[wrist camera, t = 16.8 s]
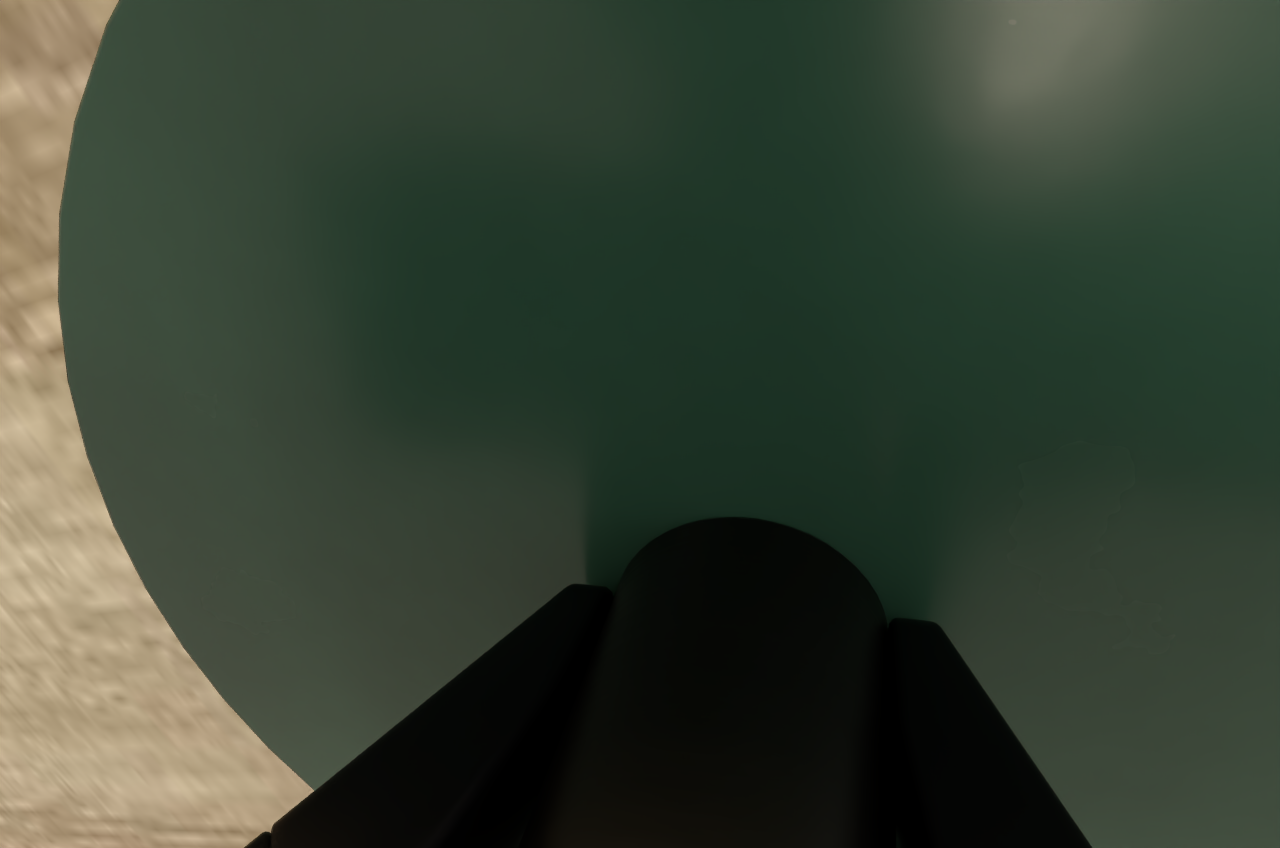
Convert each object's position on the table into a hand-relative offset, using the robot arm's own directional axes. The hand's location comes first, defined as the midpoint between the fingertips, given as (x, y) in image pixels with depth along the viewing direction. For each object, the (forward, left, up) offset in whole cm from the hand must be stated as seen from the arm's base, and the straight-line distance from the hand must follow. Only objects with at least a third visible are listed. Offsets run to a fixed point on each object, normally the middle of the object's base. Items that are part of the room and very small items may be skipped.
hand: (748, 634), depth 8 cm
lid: (0, 0, -1) cm, 1 cm away
